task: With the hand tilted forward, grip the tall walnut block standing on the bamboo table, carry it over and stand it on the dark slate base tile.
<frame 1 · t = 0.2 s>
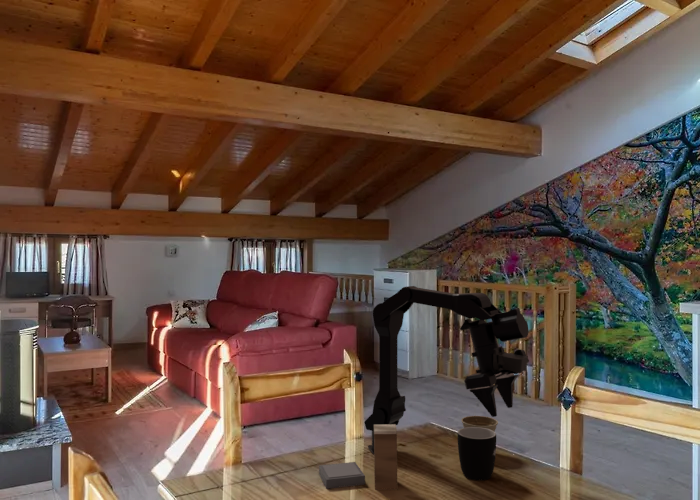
hand: (502, 411, 132), 16 cm above the table, tool pointing down, fingers open, 9 cm apart
slate base: (341, 479, 134), on the table
walnut block: (385, 484, 130), on the table
flower pot: (480, 454, 150), on the table
mug: (476, 473, 136), on the table
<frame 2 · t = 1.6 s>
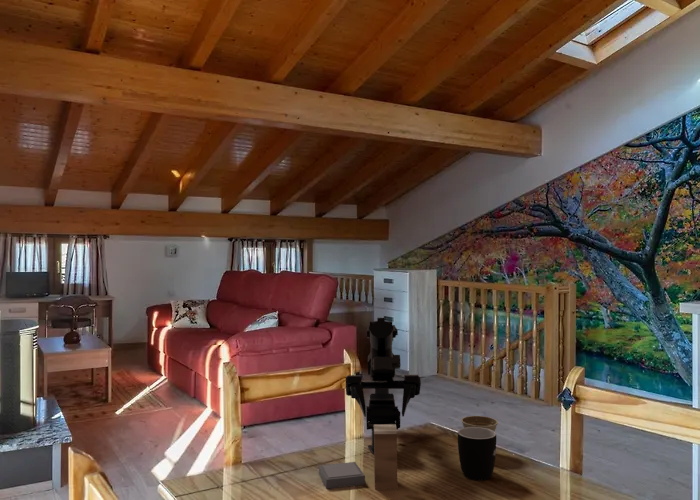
hand: (384, 415, 138), 13 cm above the table, tool tilted 45°, fingers open, 9 cm apart
nothing on the table moved.
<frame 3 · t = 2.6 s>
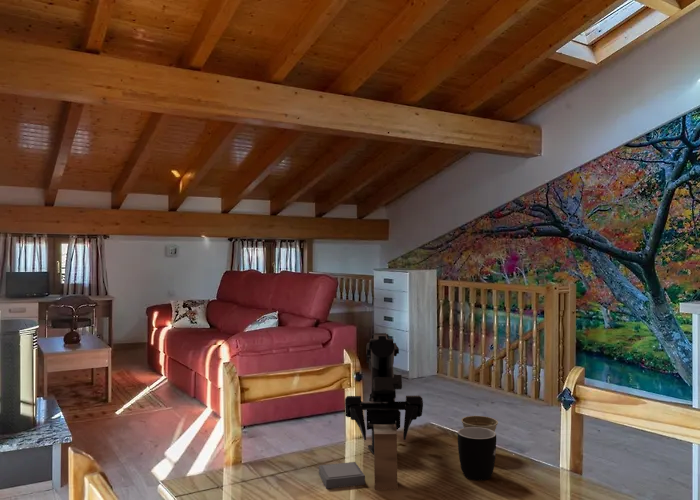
hand: (384, 438, 133), 10 cm above the table, tool tilted 45°, fingers open, 9 cm apart
nothing on the table moved.
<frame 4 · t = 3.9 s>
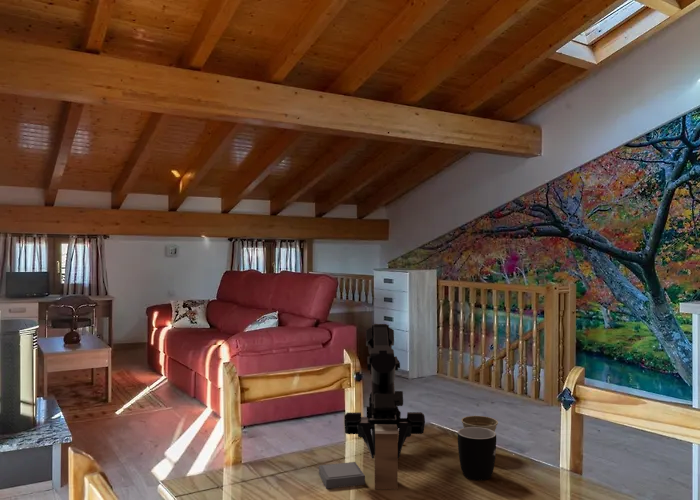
hand: (385, 457, 129), 7 cm above the table, tool tilted 45°, fingers closed on walnut block, 5 cm apart
walnut block: (385, 484, 130), on the table, touching gripper
everything else where it was.
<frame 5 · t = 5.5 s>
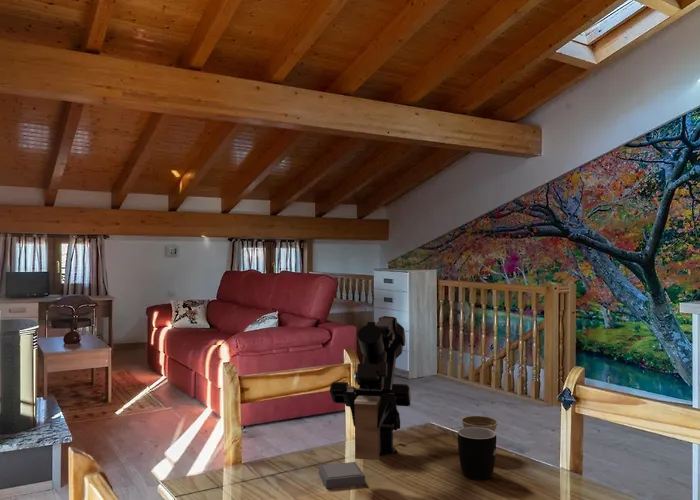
hand: (366, 426, 130), 13 cm above the table, tool tilted 45°, fingers closed on walnut block, 5 cm apart
walnut block: (367, 455, 131), point 6 cm above the table, touching gripper
everything else where it was.
when the fingers open (10 cm above the table, at t = 7.1 s): walnut block stays where it is, resting on slate base.
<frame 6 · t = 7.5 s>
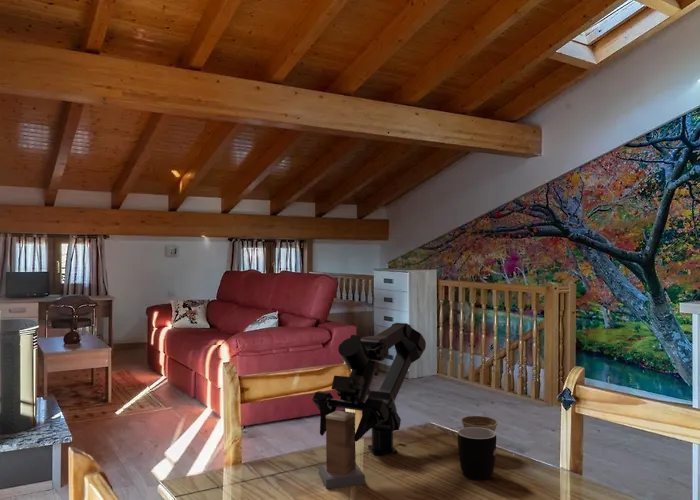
hand: (337, 437, 133), 10 cm above the table, tool tilted 45°, fingers open, 9 cm apart
walnut block: (341, 469, 134), point 2 cm above the table, touching slate base
everything else where it was.
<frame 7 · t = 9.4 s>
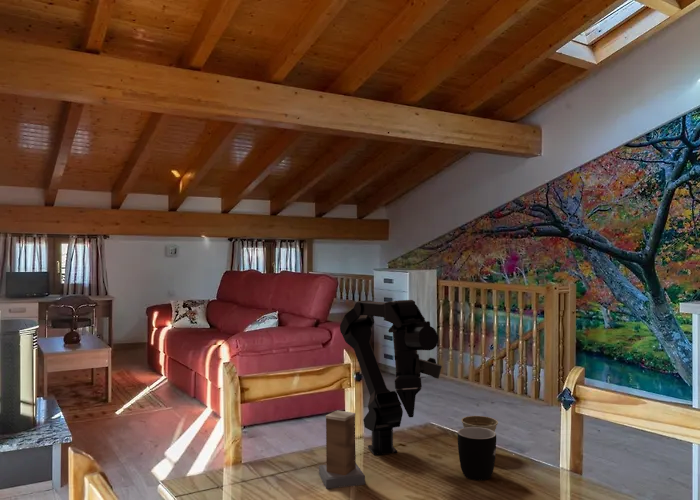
hand: (411, 414, 141), 13 cm above the table, tool pointing down, fingers open, 9 cm apart
nothing on the table moved.
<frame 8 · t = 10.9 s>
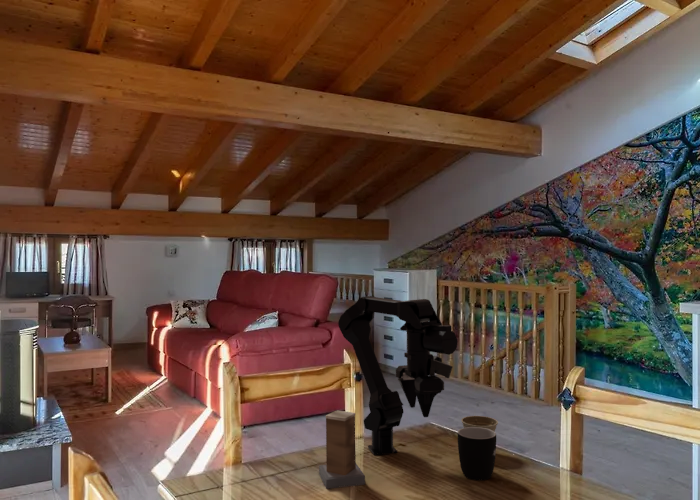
hand: (419, 412, 143), 13 cm above the table, tool pointing down, fingers open, 9 cm apart
nothing on the table moved.
at the end: walnut block 0.0 cm off-centre on the slate base, point 2.1 cm above the slate base's base; walnut block tilted 0°; the gripper is holding nothing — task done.
